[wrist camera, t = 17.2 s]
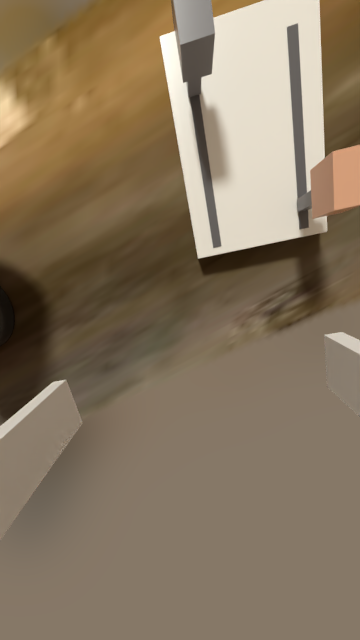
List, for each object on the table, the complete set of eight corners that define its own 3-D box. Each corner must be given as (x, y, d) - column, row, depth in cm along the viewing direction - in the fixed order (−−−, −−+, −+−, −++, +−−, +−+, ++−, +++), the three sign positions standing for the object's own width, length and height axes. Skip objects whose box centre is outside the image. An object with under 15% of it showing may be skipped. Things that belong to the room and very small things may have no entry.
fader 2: (293, 226, 29) (334, 210, 21) (290, 186, 28) (332, 151, 19) (316, 221, 29) (367, 203, 20) (314, 180, 28) (368, 142, 19)
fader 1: (185, 115, 27) (180, 44, 18) (177, 66, 26) (167, -33, 17) (208, 108, 27) (215, 33, 18) (202, 59, 25) (204, -48, 17)
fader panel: (198, 258, 34) (198, 258, 31) (163, 59, 28) (159, 35, 25) (315, 234, 32) (327, 231, 29) (305, 12, 26) (319, -20, 23)
